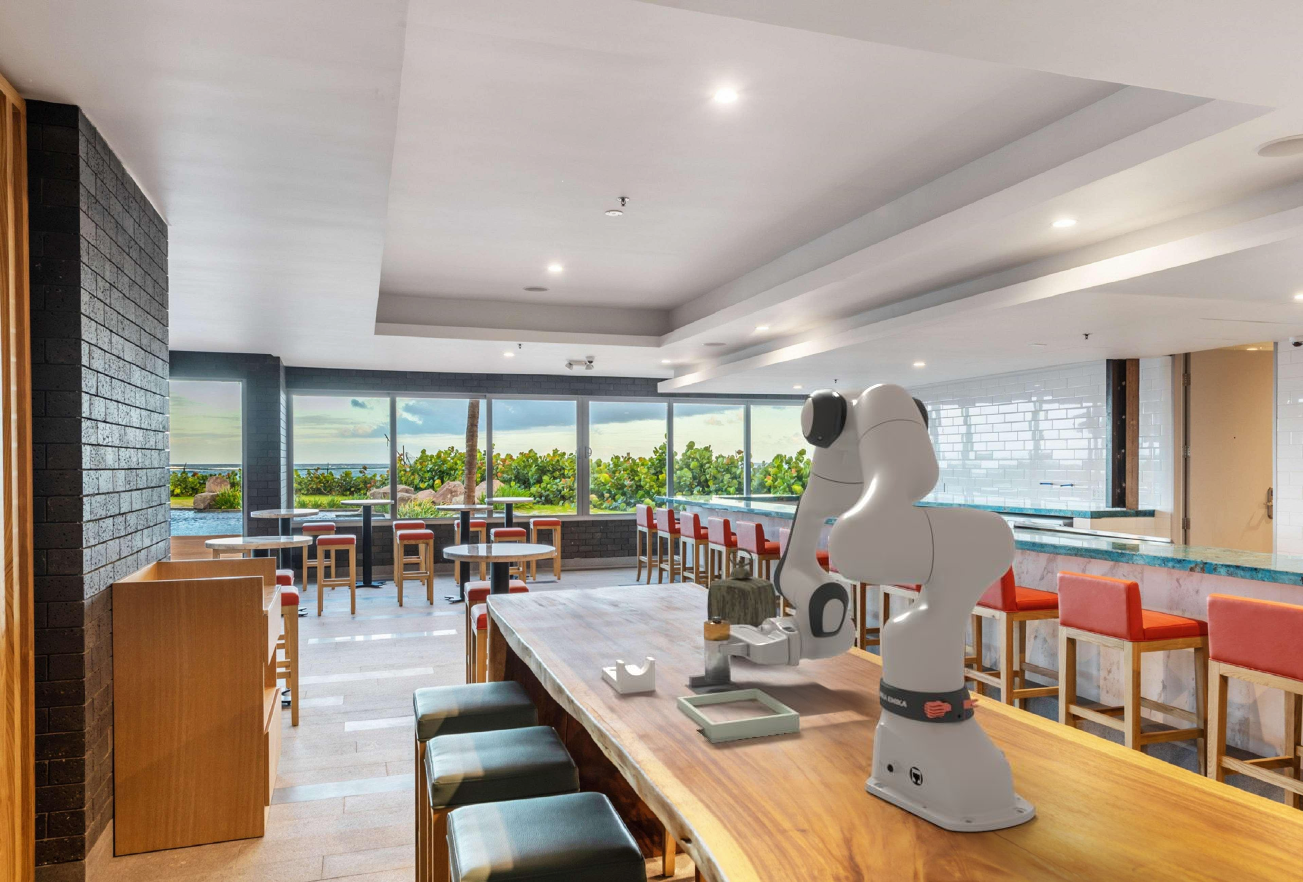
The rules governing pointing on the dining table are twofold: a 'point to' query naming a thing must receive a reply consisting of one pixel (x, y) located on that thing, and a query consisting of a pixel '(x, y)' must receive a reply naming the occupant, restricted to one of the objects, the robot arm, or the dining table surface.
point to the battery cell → (716, 651)
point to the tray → (743, 727)
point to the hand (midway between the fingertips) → (713, 646)
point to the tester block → (710, 686)
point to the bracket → (631, 676)
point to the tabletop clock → (742, 597)
